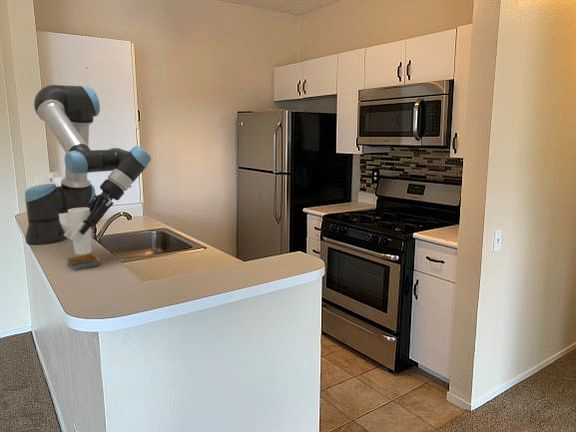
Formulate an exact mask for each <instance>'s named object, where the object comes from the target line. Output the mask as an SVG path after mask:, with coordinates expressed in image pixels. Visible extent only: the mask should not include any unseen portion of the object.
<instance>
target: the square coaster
mask: <svg viewBox="0 0 576 432" xmlns="http://www.w3.org/2000/svg"><path fill="white" fill-rule="evenodd" d="M66 260H67V265H68V267H69V268H71V269H72V270H73V271H79V270H84V269H89V268H95V267H100V266H101V263H100V257H98V256H96V255H95V254H92V253H89V254H86V255H77V256H73V257H67V259H66Z"/></svg>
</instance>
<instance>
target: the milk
mask: <svg viewBox="0 0 576 432" xmlns="http://www.w3.org/2000/svg"><path fill="white" fill-rule="evenodd" d="M49 173H50V174H49V179H47V181H46V182H45V183H44V184H55V185H56V187H59V186H61V180H62V179H64V178H63V177H62V175H61V174H60V171H52V172H49ZM59 219H60V223H61V225H66V226H68V225H67V224H69V220H68V213H62V214H59Z"/></svg>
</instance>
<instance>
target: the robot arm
mask: <svg viewBox="0 0 576 432" xmlns="http://www.w3.org/2000/svg"><path fill="white" fill-rule="evenodd" d="M33 102H34V103H33V107H34V112H35V113H36V115H37V116H38V118H39V119H40V120H41V121H43V122H45V123H46V126H47V127H48V129H49V130H50V131H51V133H52V134H53V135H54V137H55V139H56V140H57V141H58V143H59V145H60V146H61V148H62V149H63V151H64V153H65V155H64V165H65V166H64V167H65V171H64V173H65V174H64V178H63V179H62V180H61V186H59V187H56V185H55V184H45V183H44V184H39V185H35V186H31V187H29V188H27V189H26V190H25V191H24V196H25V197H24V199H25V200H24V201H25V206H26V213H27V215H26V216H27V222H28V225H27V228H26V229H27V230H26V233H25V234H26V235H25V244H28V245H48V244H53V243H58V242H62V241H64V240H66V239H69V240H70V241H72V242H73V241H74V242H75V243H78V242H79V241H80V240H81V239H82V237H83V236H84V235H85V234H86V233H87V231H88V230H89V229H90V227H91V228H92V227H93V228H94V227H96V226H97V224H98V223H99V222H100V221H101V219H102V218H103V217H104V215H105V214H106V213H107V212H108V211H109V209H110V208H111V207H112V206H113V205H114V202H113V201H112V200H115V201H120V199H121V198H122V197H123V195H125V192H127V190H128V189H130V188H132V184H133V183H134V182H135V181H136V180H137V178H139V176H140V175H141V174H142V173H143V172H144V170H145V169H146V168H147V166H148V165H149V164H150V162H151V161H152V157H151V155H150V154H149V153H148V151H146V150H145V149H143V147H141V146H138V145H135V146H134V147H132V148H131V149H130V150H129V151H128V150H124V149H122V148H121V147H120V148H119V147H111V148H109V149H97V150H96V149H95V150H91V148H90V147H89V138H90V137H89V134H90V125H91V124H93V123H94V117H97V116H99V114H100V108H101V105H100V100H99V96H98V95H97V93H96V90H94V89H93V88H91V87H89V86H83V85H82V86H81V85H60V84H51V85H50V84H49V85H47V86H44V87H42V88H41V89H40V90H39V91H38V92H37V93H36V96H35V97H34V100H33ZM98 172H100V173H101V172H110V174H108V175H107V179H105V180H104V181H103V182H102V183H101V184H100V185H99V189H100V190H101V191H102V192H100V194H98V195H96V189H95V187H94V185H93V184H92V182H91V181H90V180H89V179H88V174H89V173H98ZM73 208H90V215H89V217H88V218H87V220H84V221H83V222H84V223H82V224H81V226H80V227H79V228H78V229H77V230H76V231H75V233H74V234H73V235H71V230H70V227H69V229H67V231H65V229H64V226H62V225H61V223H60V219H59V214H62V213H68V210H69V209H73Z"/></svg>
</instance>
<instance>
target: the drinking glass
mask: <svg viewBox="0 0 576 432" xmlns="http://www.w3.org/2000/svg"><path fill="white" fill-rule="evenodd" d="M89 215H90V208H73V209H69V210H68V220H69V228H70V230H71V235H73V234H74V233H75V231H76V230H77V229H78V228H79V227H80V226H81V224H82V223H84V222H83V221H84V220H87V218H88V217H89ZM72 245H73V252H74V254H75V255H77V256H83V255H89V254H92V251H93V248H92V247H93V246H92V245H93V243H92V227H90V229H89V230H88V231H87V233H86V234H85V235H84V236H83V237H82V239H81V240H80V241H79V242H78V243H75V242H74V241H72Z"/></svg>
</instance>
